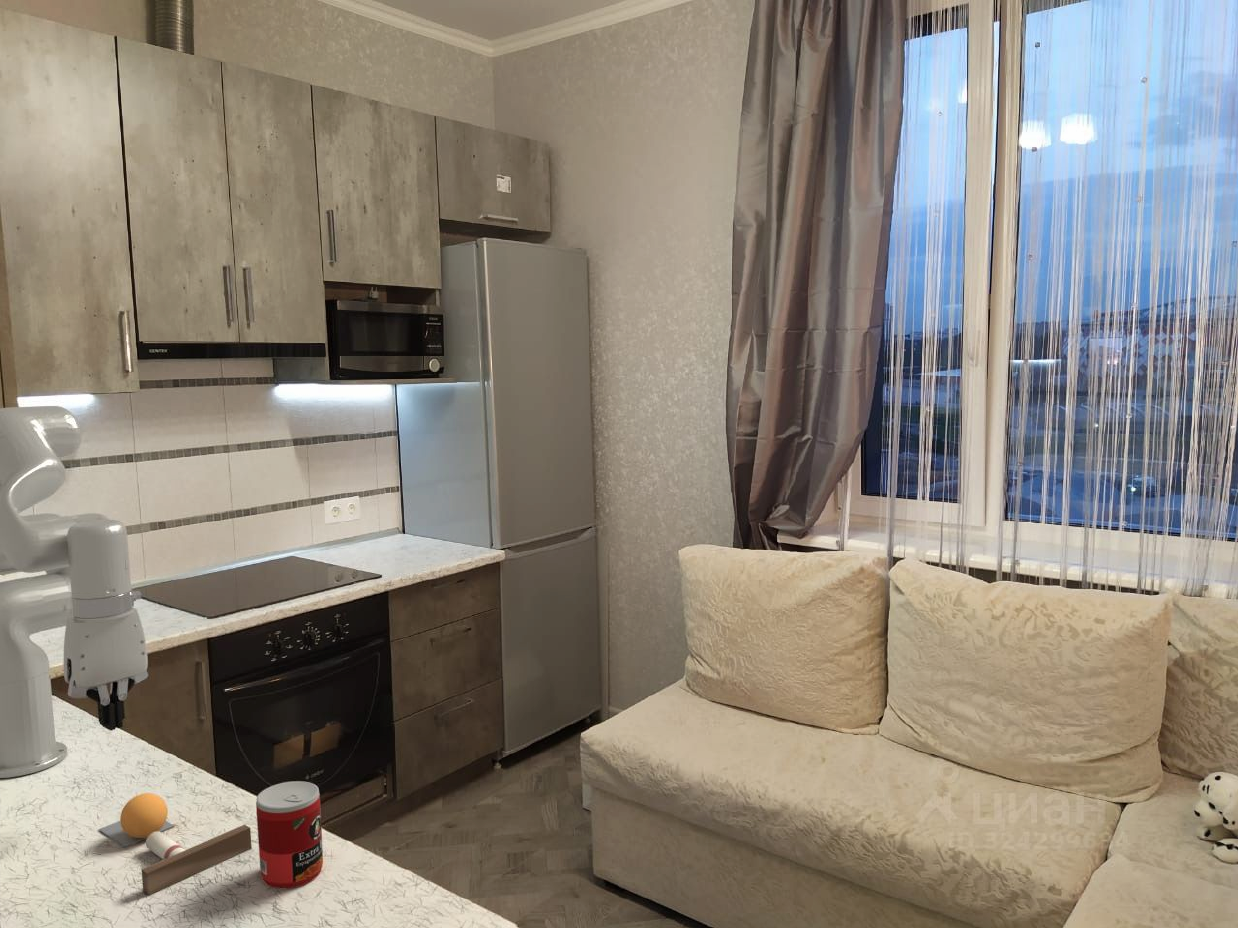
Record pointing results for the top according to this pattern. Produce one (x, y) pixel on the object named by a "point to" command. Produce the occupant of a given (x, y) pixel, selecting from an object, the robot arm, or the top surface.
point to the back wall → (195, 859)
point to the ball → (143, 815)
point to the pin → (162, 845)
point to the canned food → (289, 834)
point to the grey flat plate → (124, 839)
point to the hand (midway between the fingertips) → (112, 726)
